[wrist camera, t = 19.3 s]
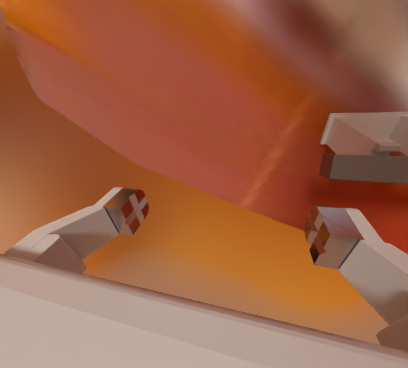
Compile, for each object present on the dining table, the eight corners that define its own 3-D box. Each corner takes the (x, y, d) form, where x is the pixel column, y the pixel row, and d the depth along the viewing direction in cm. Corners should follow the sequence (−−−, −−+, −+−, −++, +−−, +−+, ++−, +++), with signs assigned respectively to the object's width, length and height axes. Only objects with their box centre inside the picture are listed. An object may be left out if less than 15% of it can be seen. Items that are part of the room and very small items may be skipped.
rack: (329, 113, 38) (376, 141, 24) (419, 111, 34) (537, 143, 20) (319, 143, 42) (354, 182, 28) (398, 144, 38) (485, 190, 24)
